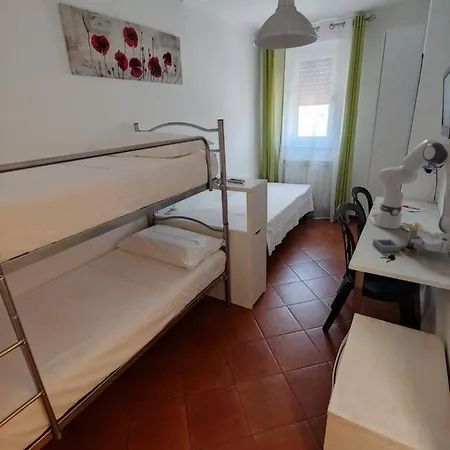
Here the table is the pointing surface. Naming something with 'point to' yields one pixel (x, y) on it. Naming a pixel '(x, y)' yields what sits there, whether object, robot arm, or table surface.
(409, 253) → the collar
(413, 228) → the pin
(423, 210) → the table surface
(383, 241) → the tray
